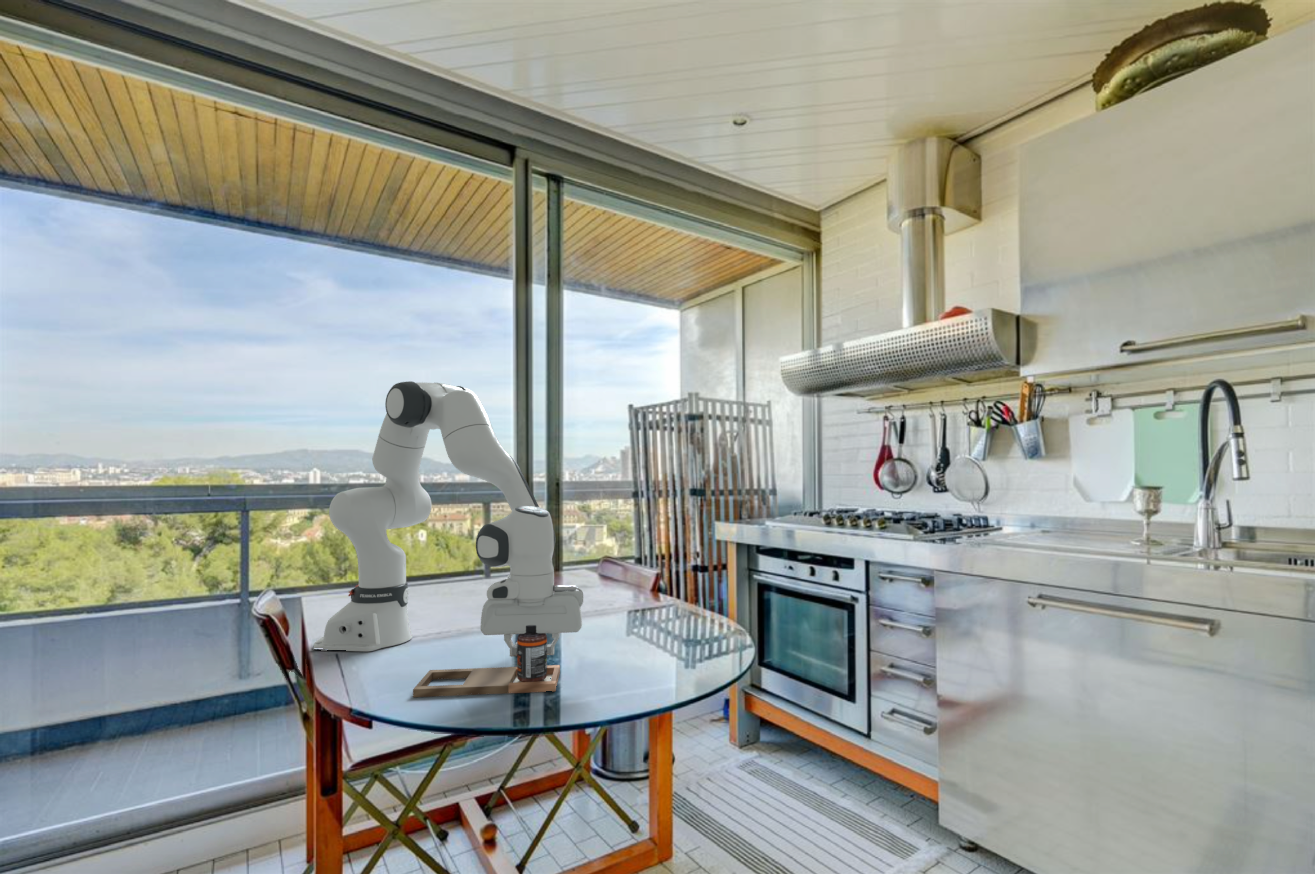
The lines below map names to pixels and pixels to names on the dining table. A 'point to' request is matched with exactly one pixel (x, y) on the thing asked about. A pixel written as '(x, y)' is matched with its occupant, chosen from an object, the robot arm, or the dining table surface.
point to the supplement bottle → (531, 655)
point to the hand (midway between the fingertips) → (532, 654)
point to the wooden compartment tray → (484, 682)
